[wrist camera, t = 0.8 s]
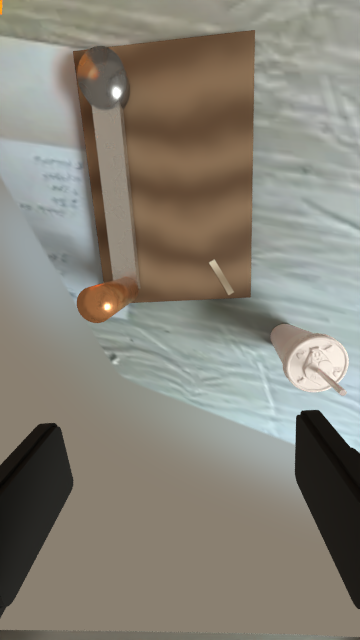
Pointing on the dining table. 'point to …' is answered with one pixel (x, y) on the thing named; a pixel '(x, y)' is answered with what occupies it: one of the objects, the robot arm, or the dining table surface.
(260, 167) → the dining table surface
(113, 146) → the lever
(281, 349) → the smoothie
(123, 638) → the robot arm
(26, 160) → the dining table surface
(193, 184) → the lever base
